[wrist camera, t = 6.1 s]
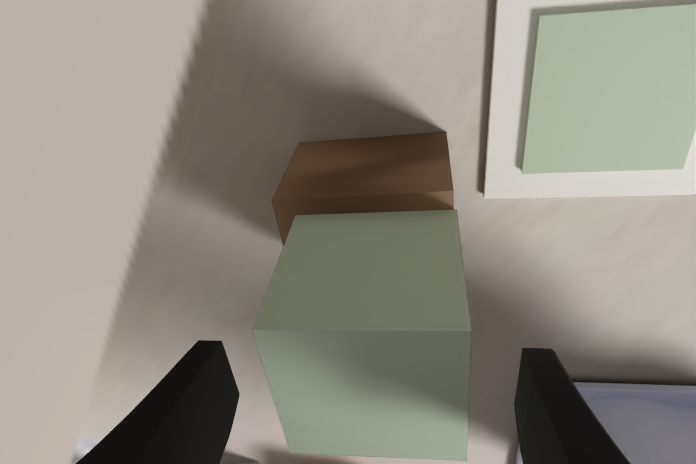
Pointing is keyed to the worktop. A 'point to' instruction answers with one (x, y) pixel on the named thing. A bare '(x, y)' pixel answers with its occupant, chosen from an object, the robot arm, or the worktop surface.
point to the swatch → (592, 99)
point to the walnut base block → (365, 177)
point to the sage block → (370, 336)
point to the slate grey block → (253, 463)
